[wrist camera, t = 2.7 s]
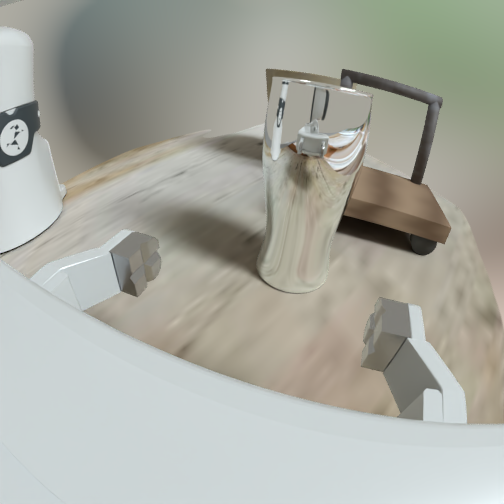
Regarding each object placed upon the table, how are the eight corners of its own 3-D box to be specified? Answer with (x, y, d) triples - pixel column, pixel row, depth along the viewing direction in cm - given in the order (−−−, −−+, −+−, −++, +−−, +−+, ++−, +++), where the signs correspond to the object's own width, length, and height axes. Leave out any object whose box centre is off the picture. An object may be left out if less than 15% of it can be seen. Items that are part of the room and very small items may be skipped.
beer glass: (333, 304, 21) (389, 99, 13) (243, 289, 22) (262, 75, 13) (330, 252, 27) (365, 91, 18) (257, 240, 28) (274, 76, 19)
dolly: (298, 225, 31) (323, 58, 21) (315, 184, 41) (333, 67, 31) (435, 263, 27) (487, 110, 17) (417, 212, 38) (447, 100, 28)
